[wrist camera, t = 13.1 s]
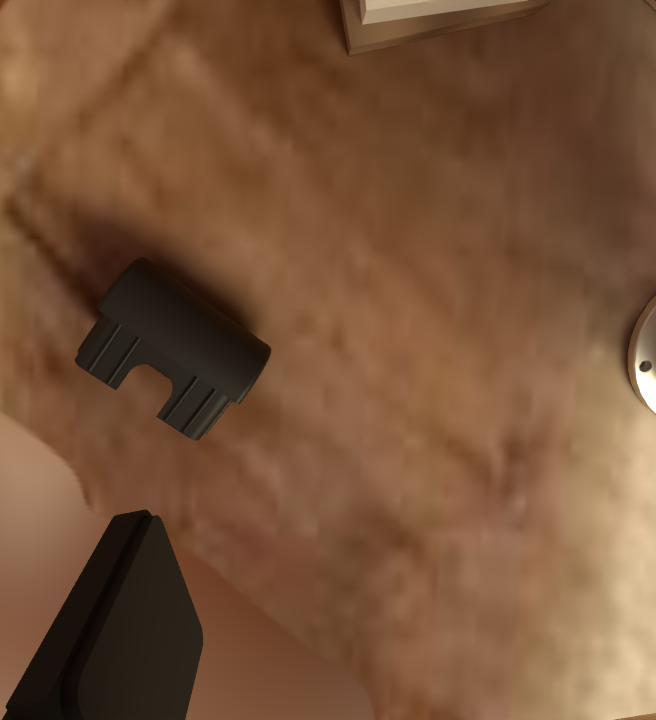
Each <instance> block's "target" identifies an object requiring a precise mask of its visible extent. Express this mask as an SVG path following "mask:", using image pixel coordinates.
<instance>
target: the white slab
mask: <svg viewBox="0 0 656 720" xmlns="http://www.w3.org/2000/svg"><path fill="white" fill-rule="evenodd" d="M521 1H527V0H360V9H361V19H362V25H363V24H370V23H377V22H384V21H391V20H398V19H405V18H412V17H418V16H425V15H432V14H439V13H446V12H453V11H460V10H466V9H473V8H480V7H487V6H494V5H501V4H508V3H515V2H521Z"/></svg>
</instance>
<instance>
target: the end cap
mask: <svg viewBox="0 0 656 720" xmlns="http://www.w3.org/2000/svg"><path fill="white" fill-rule="evenodd" d="M96 308H97V309H98V310H99V311H100V312H102V314H101V316H100V317H99V319H98V320H97V322H96V323H95V325H94V326H93V328H92V329H91V331H90V332H89V334H88V335H87V337H86V338H85V340H84V341H83V343H82V344H81V346H80V347H79V349H78V355H77V357H76V358H75V362H76V364H77V365H78V366H79V367H81V368H82V369H84V370H85V371H87V372H88V373H90V374H91V375H93V376H94V377H96V378H97V379H99V380H101V381H102V382H104V383H105V384H107V385H108V386H110V387H111V388H113V389H114V390H116V389H117V388H118V387H119V386H120V384H121V383H122V381H123V380H124V379H125V377H126V376H127V374H128V373H129V371H130V370H131V369H132V368H134V367H136V366H138V365H142V364H148V365H150V366H151V367H153V368H154V369H156V370H157V371H159V372H160V373H162V374H163V375H165V376H166V377H168V378H169V379H171V381H172V386H173V391H172V395H171V397H170V398H169V400H168V401H167V402H166V404H165V405H164V406H163V408H162V409H161V411H160V412H159V413H158V415H157V416H156V417H158V418H159V419H161V420H162V421H164V422H165V423H167V424H168V425H170V426H171V427H173V428H175V429H176V430H178V431H179V432H181V433H182V434H184V435H185V436H187V437H188V438H190V439H192V440H199V439H200V438H201V436H202V435H205V434H207V433H208V431H209V430H210V429H211V428H212V426H213V425H214V424H215V422H216V421H217V420H218V419H219V417H220V416H221V415H222V413H223V412H224V411H225V410H226V408H227V407H228V406H229V405H230V403H231V402H232V401H233V402H235V403H236V404H240V403H241V401H242V400H243V399H244V397H245V396H246V395H247V393H248V392H249V391H250V389H251V388H252V386H253V385H254V383H255V382H256V380H257V379H258V377H259V376H260V374H261V372H262V371H263V369H264V367H265V365H266V363H267V361H268V359H269V357H270V354H271V348H270V347H269V346H268V345H267V344H266V343H264V342H263V341H261V340H260V339H259V338H257V337H256V336H254V335H253V334H252V333H250V332H249V331H247V330H246V329H245V328H243V327H242V326H240V325H239V324H238V323H236V322H235V321H233V320H232V319H231V318H229V317H228V316H226V315H225V314H224V313H222V312H221V311H219V310H218V309H217V308H215V307H214V306H212V305H211V304H209V303H208V302H207V301H205V300H204V299H202V298H201V297H200V296H198V295H197V294H195V293H194V292H193V291H191V290H190V289H188V288H187V287H186V286H184V285H183V284H181V283H180V282H179V281H177V280H176V279H174V278H173V277H172V276H170V275H169V274H167V273H166V272H165V271H163V270H162V269H160V268H159V267H158V266H156V265H155V264H153V263H152V262H151V261H149V260H148V259H146V258H144V257H140V258H138V259H136V260H135V261H134V262H133V263H131V264H130V265H129V266H128V267H127V268H126V269H125V271H124V272H123V273H122V274H121V275H120V276H119V277H118V279H117V280H116V281H115V282H114V283H113V285H112V286H111V287H110V289H109V290H108V291H107V292H106V294H105V295H104V297H103V298H102V299H101V301H100V302H99V304H98V305H97V307H96Z"/></svg>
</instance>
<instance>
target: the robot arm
mask: <svg viewBox="0 0 656 720" xmlns="http://www.w3.org/2000/svg"><path fill="white" fill-rule="evenodd" d="M628 371H629V376H630V381H631V384H632V386H633V388H634V390H635V392H636V395H637V396H638V398H639V399H640V400H641V401H642V403H643V404H644V405H645V406H646V407H647V408H648V409H649V410H650V411H651V412H653V413H654V414H655V415H656V295H655V296H654V298H653V299H652V300H651V301H650V302H649V303H648V304H647V306H646V308H645V309H644V311H643V312H642V314H641V316H640V317H639V319H638V321H637V323H636V326H635V328H634V331H633V333H632V335H631V340H630V344H629V349H628ZM202 647H203V632H202V627H201V624H200V621H199V619H198V616H197V613H196V611H195V608H194V605H193V603H192V600H191V597H190V595H189V592H188V589H187V586H186V584H185V581H184V578H183V576H182V573H181V570H180V567H179V565H178V562H177V560H176V557H175V554H174V551H173V549H172V546H171V543H170V540H169V538H168V535H167V532H166V530H165V527H164V524H163V522H162V520H161V518H160V517H159V516H157V515H155V516H152V515H151V514H150V512H149V511H148V510H140V511H135V512H130V513H125V514H120V515H116V516H114V517H113V518H112V520H111V522H110V523H109V525H108V527H107V529H106V531H105V532H104V534H103V536H102V537H101V539H100V541H99V543H98V545H97V546H96V548H95V550H94V552H93V553H92V555H91V557H90V559H89V560H88V562H87V564H86V566H85V567H84V569H83V571H82V573H81V574H80V576H79V578H78V580H77V582H76V583H75V585H74V587H73V588H72V590H71V592H70V594H69V596H68V597H67V599H66V601H65V603H64V604H63V606H62V608H61V610H60V611H59V613H58V615H57V617H56V618H55V620H54V622H53V624H52V626H51V627H50V629H49V631H48V632H47V634H46V636H45V638H44V639H43V641H42V643H41V645H40V647H39V648H38V650H37V652H36V654H35V655H34V657H33V659H32V661H31V662H30V664H29V666H28V668H27V669H26V671H25V673H24V675H23V677H22V678H21V680H20V682H19V684H18V685H17V687H16V689H15V691H14V692H13V694H12V696H11V697H10V699H9V701H8V703H7V705H6V709H7V712H6V714H5V715H4V717H3V719H2V720H185V718H186V713H187V710H188V706H189V701H190V697H191V693H192V689H193V685H194V681H195V677H196V672H197V668H198V664H199V660H200V656H201V652H202ZM616 720H656V713H654V714H647V715H641V716H635V717H628V718H622V719H616Z"/></svg>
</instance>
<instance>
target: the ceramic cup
mask: <svg viewBox="0 0 656 720" xmlns="http://www.w3.org/2000/svg"><path fill="white" fill-rule="evenodd" d="M645 1H646V2H647V3H649V4H650V5H651V6H652V7H653V8H654V9H655V10H656V0H645Z"/></svg>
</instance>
